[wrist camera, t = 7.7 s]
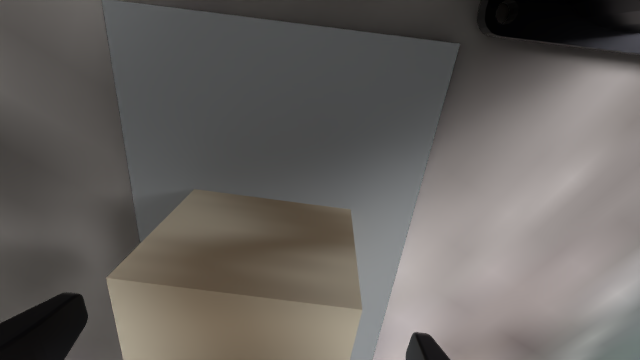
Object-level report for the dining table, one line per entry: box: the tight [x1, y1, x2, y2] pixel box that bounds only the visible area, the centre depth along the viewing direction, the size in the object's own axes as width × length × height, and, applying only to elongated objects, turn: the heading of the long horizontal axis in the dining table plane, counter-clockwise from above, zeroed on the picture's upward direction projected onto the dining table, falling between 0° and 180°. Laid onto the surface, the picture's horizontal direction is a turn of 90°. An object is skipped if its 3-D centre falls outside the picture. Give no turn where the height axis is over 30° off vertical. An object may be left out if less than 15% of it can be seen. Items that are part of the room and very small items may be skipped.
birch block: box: [106, 189, 362, 360], centre depth 9 cm, size 5×5×4 cm
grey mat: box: [102, 0, 460, 360], centre depth 11 cm, size 9×15×1 cm, turn 173°
